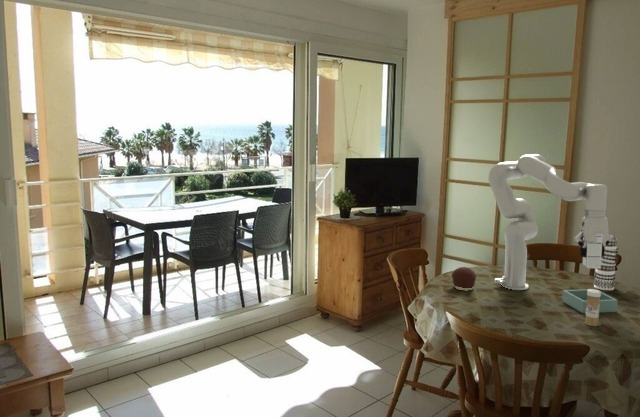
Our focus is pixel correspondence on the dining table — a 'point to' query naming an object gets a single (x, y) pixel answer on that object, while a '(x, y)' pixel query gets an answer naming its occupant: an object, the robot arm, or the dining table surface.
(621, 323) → the dining table surface
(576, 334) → the dining table surface
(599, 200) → the robot arm
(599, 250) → the syrup box
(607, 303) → the tote
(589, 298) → the sprinkles bottle
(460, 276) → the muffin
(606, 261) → the decorative candle
